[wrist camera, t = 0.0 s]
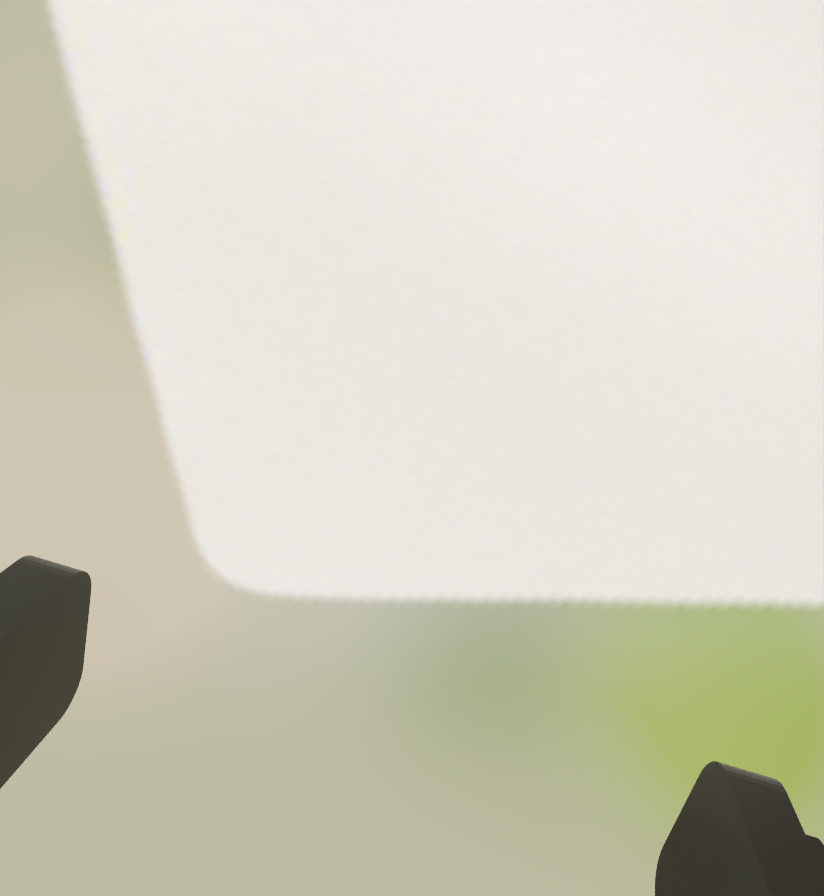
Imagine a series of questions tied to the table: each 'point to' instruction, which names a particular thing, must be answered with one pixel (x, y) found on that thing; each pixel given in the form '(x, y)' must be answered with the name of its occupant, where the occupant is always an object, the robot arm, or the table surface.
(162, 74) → the table surface
